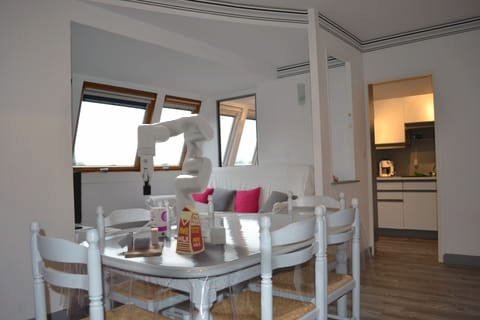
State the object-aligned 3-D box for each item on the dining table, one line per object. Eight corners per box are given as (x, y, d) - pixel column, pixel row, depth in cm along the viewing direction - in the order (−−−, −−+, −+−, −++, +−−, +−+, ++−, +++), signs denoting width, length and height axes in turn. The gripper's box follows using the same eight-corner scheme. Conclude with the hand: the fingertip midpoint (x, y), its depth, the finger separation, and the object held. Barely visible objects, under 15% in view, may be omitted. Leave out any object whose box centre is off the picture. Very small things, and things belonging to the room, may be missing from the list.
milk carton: (192, 254, 151) (190, 204, 151) (174, 252, 156) (173, 204, 156) (206, 250, 158) (204, 202, 159) (189, 248, 163) (187, 202, 164)
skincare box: (222, 241, 177) (222, 225, 177) (226, 244, 171) (225, 227, 171) (210, 242, 175) (209, 226, 175) (213, 245, 169) (212, 228, 169)
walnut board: (163, 244, 174) (163, 241, 174) (160, 255, 152) (160, 252, 152) (131, 246, 172) (131, 243, 172) (124, 257, 149) (124, 254, 149)
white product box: (170, 235, 200) (169, 206, 200) (161, 238, 192) (161, 208, 192) (156, 234, 202) (155, 206, 203) (148, 237, 194) (147, 208, 195)
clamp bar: (153, 224, 164) (149, 218, 164) (153, 225, 161) (148, 219, 161) (123, 247, 162) (118, 241, 162) (122, 248, 159) (117, 242, 159)
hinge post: (133, 247, 164) (133, 231, 164) (131, 249, 158) (131, 233, 159) (129, 247, 163) (128, 231, 164) (127, 250, 158) (127, 233, 158)
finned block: (150, 245, 166) (149, 237, 166) (148, 249, 159) (148, 240, 159) (136, 246, 165) (135, 238, 165) (134, 250, 158) (133, 240, 158)
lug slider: (158, 243, 171) (157, 227, 171) (157, 245, 165) (157, 229, 165) (152, 243, 171) (151, 228, 171) (151, 246, 164) (150, 230, 165)
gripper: (154, 151, 157) (154, 195, 156) (156, 153, 172) (157, 194, 171) (135, 151, 156) (136, 196, 155) (139, 154, 171) (140, 194, 170)
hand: (147, 195), depth 163 cm, fingers closed
